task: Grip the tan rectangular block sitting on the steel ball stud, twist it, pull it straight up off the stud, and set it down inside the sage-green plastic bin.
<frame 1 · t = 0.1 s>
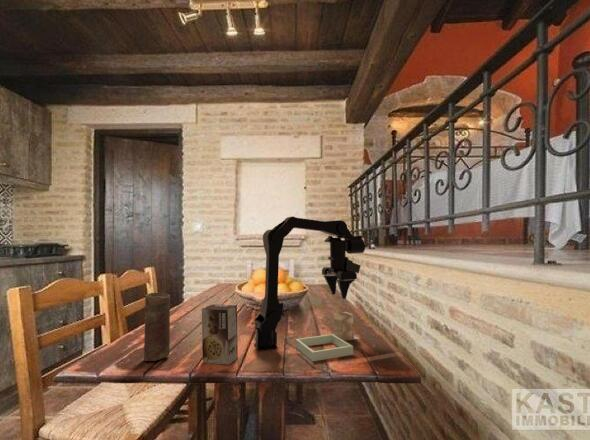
hand: (338, 296, 124), 15 cm above the table, fingers open, 9 cm apart
candle: (157, 359, 104), on the table
tan rectangular block: (344, 336, 120), point 1 cm above the table, touching stud block
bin: (323, 353, 106), on the table
stud block: (344, 339, 120), on the table
coffee box: (220, 360, 102), on the table
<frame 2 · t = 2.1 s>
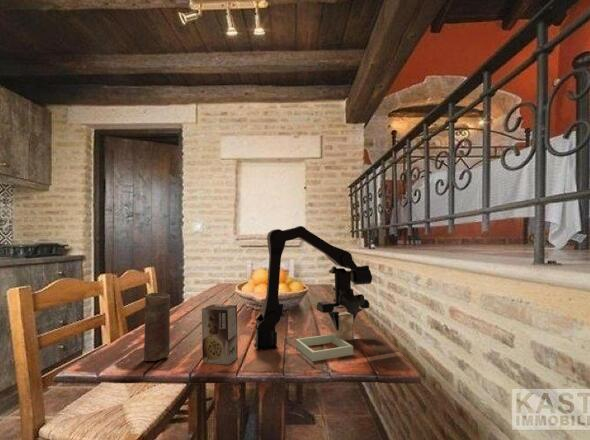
hand: (343, 329, 120), 4 cm above the table, fingers closed on tan rectangular block, 5 cm apart
tan rectangular block: (344, 336, 120), point 1 cm above the table, touching gripper, stud block
everything else where it was.
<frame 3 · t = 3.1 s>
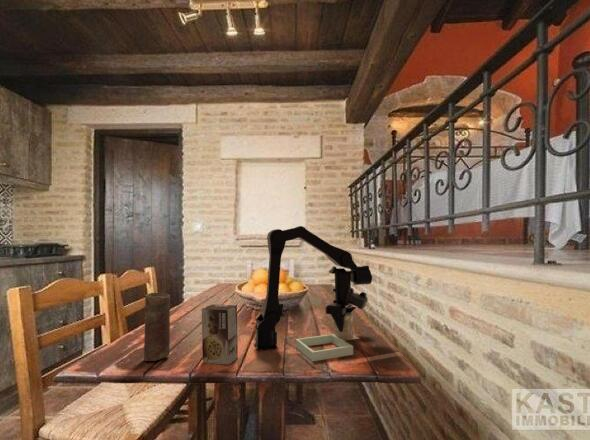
hand: (343, 329, 120), 3 cm above the table, fingers closed on tan rectangular block, 5 cm apart
tan rectangular block: (343, 336, 120), point 1 cm above the table, touching gripper
everything else where it was.
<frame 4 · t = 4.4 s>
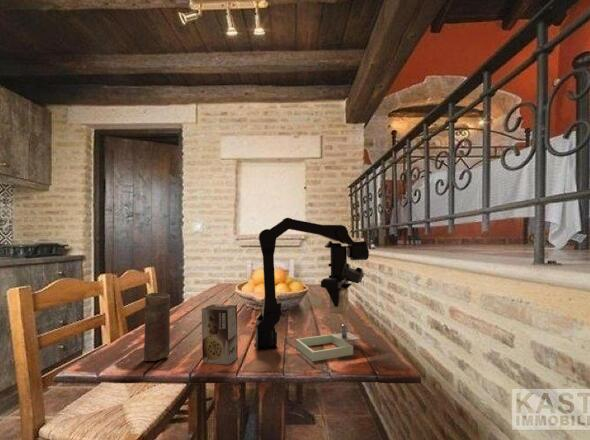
hand: (339, 305, 118), 13 cm above the table, fingers closed on tan rectangular block, 5 cm apart
tan rectangular block: (339, 312, 118), point 10 cm above the table, touching gripper
everything else where it was.
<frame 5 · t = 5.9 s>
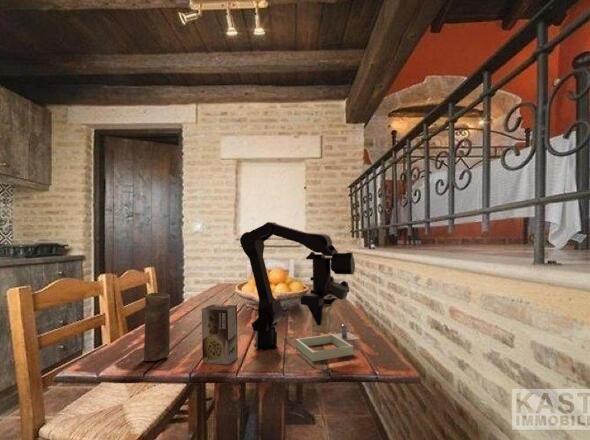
hand: (322, 323, 106), 10 cm above the table, fingers closed on tan rectangular block, 5 cm apart
tan rectangular block: (322, 330, 106), point 7 cm above the table, touching gripper
everything else where it was.
when the fingers open (5 cm above the table, at t = 7.1 s): tan rectangular block drops 2 cm, resting on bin.
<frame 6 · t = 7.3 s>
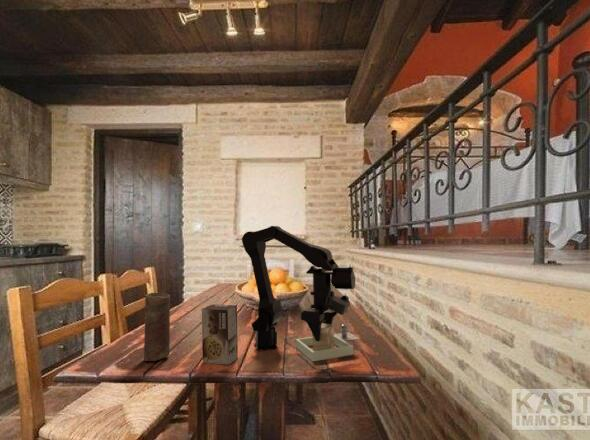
hand: (323, 337, 106), 5 cm above the table, fingers open, 7 cm apart
tan rectangular block: (323, 351, 106), point 1 cm above the table, touching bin
everything else where it was.
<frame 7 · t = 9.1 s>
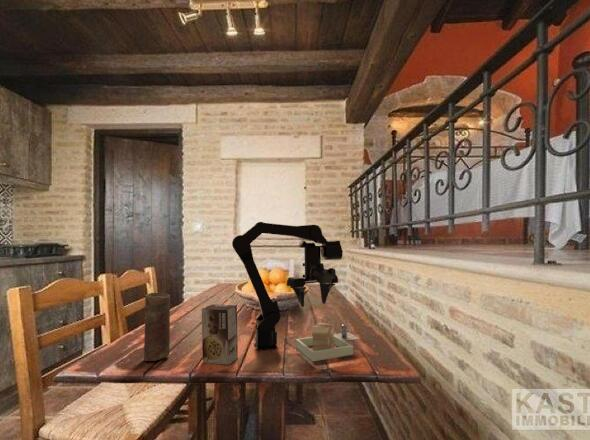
hand: (313, 305, 118), 13 cm above the table, fingers open, 9 cm apart
nothing on the table moved.
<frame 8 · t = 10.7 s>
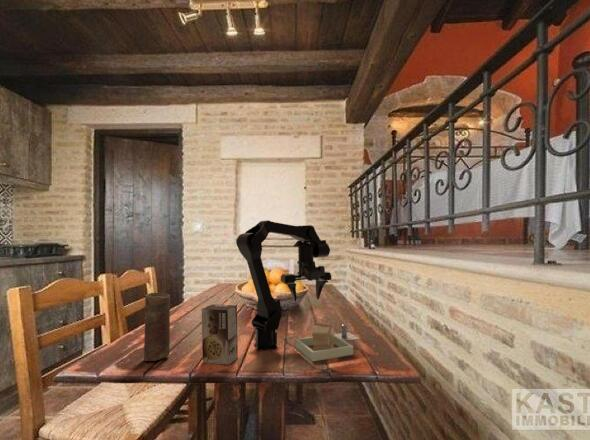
hand: (306, 300, 126), 13 cm above the table, fingers open, 9 cm apart
nothing on the table moved.
at the end: tan rectangular block inside the target area on the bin (0.0 cm from its centre), point 0.8 cm above the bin's base; the gripper is holding nothing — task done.
